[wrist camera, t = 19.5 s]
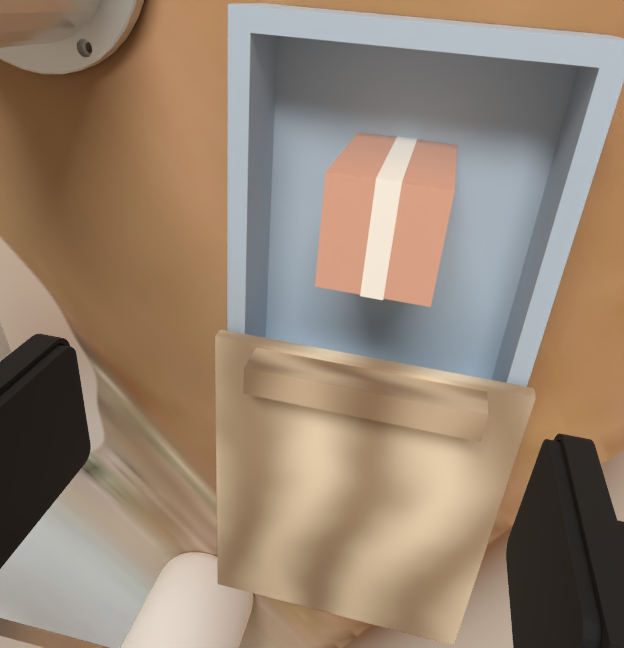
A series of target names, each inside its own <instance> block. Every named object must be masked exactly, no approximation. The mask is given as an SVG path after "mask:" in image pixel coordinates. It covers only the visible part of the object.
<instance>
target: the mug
mask: <svg viewBox="0 0 624 648" xmlns="http://www.w3.org/2000/svg"><path fill="white" fill-rule="evenodd" d="M253 599H254V597H253V593H250V592H246V591H242V590H239V589H235V588H231V587H227V586H223V585H219V584H218V572H217V556H214V555H211V554H207V553H202V552H189V553H183V554H180V555H178V556H176V557H174V558H173V559H171V560H170V561H169V562H168V563H167V564H166V565H165V567H164V568H163V570H162V571H161V573H160V575H159V576H158V578H157V580H156V582H155V584H154V586H153V587H152V589H151V591H150V593H149V595H148V597H147V599H146V601H145V602H144V604H143V606H142V608H141V610H140V612H139V614H138V616H137V617H136V619H135V621H134V623H133V625H132V627H131V629H130V631H129V632H128V634H127V636H126V638H125V640H124V642H123V644H122V646H121V647H120V648H239V646H240V643H241V640H242V637H243V634H244V631H245V629H246V626H247V623H248V620H249V617H250V614H251V610H252V607H253Z"/></svg>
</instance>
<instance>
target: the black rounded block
mask: <svg viewBox="0 0 624 648" xmlns="http://www.w3.org/2000/svg"><path fill="white" fill-rule="evenodd" d="M11 353H12V352H11V350H10V347H9V344H8V342H7V339H6V336H5V334H4V331H3V328H2V326H1V323H0V362H1V361H2V360H3V359H4V358H6V357H7V356H8V355H9V354H11Z"/></svg>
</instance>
